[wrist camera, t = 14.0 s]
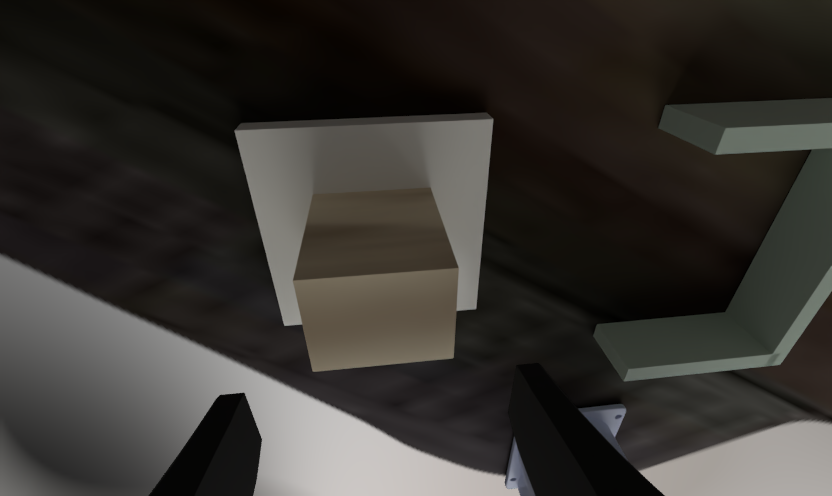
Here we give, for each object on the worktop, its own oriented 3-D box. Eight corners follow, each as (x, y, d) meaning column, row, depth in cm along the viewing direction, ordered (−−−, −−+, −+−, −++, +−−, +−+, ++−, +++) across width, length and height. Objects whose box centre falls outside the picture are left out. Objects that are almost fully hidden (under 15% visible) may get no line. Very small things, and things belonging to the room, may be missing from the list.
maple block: (429, 263, 20) (453, 358, 15) (325, 271, 19) (312, 371, 14) (430, 187, 17) (458, 267, 12) (313, 194, 17) (292, 280, 12)
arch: (733, 322, 26) (780, 364, 23) (593, 335, 25) (623, 381, 22) (859, 96, 19) (952, 117, 16) (665, 105, 18) (725, 128, 15)
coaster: (471, 297, 22) (476, 308, 22) (287, 312, 21) (284, 325, 21) (486, 112, 17) (493, 119, 16) (241, 123, 16) (234, 130, 15)
